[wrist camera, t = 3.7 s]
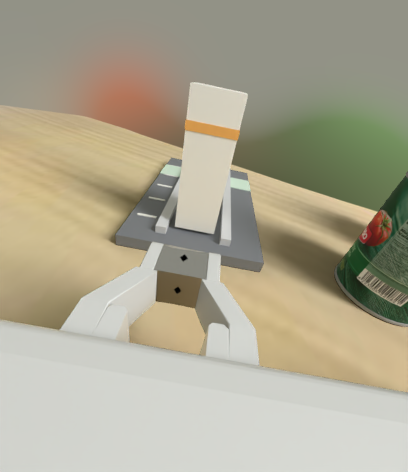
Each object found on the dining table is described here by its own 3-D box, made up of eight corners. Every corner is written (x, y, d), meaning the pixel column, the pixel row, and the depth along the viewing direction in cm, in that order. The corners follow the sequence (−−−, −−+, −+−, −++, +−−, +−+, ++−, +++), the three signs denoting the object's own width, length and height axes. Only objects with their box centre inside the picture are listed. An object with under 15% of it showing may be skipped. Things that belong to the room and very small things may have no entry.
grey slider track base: (116, 244, 21) (113, 218, 19) (170, 164, 40) (172, 147, 38) (259, 272, 21) (270, 248, 19) (245, 179, 40) (249, 163, 39)
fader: (174, 226, 22) (189, 82, 15) (179, 211, 24) (195, 82, 17) (214, 234, 22) (248, 95, 15) (215, 218, 24) (246, 92, 17)
